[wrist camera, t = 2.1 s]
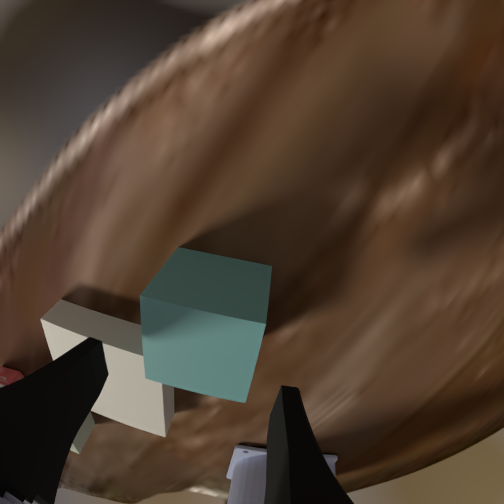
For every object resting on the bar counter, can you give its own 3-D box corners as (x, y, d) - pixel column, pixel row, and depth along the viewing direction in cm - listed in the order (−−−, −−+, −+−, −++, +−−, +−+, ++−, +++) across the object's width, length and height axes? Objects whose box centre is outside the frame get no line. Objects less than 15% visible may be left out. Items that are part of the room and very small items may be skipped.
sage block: (86, 400, 24) (66, 433, 20) (95, 423, 26) (79, 454, 21) (51, 384, 24) (30, 413, 20) (62, 408, 26) (45, 436, 22)
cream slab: (176, 330, 19) (161, 361, 16) (175, 409, 22) (165, 437, 20) (63, 296, 19) (40, 318, 16) (83, 377, 23) (68, 400, 20)
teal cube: (272, 265, 16) (265, 324, 11) (255, 338, 18) (245, 402, 13) (178, 246, 16) (139, 295, 11) (174, 320, 18) (145, 378, 13)
